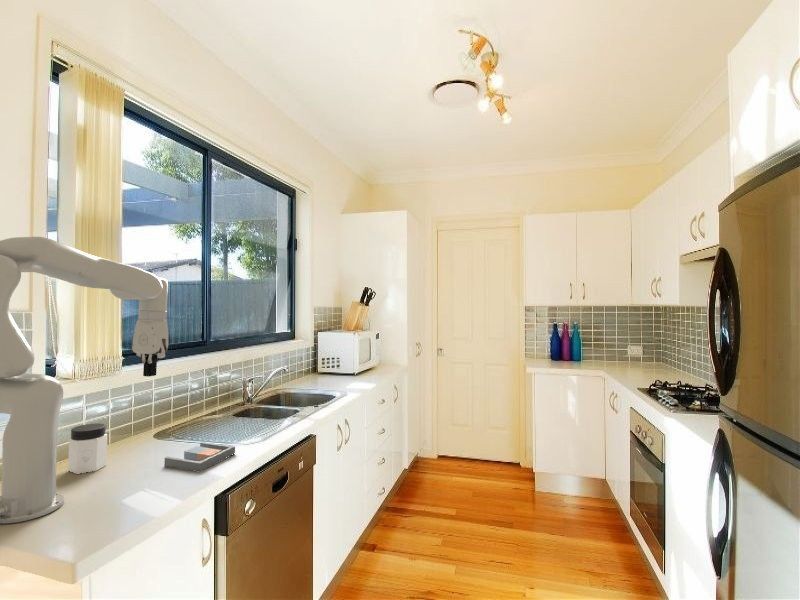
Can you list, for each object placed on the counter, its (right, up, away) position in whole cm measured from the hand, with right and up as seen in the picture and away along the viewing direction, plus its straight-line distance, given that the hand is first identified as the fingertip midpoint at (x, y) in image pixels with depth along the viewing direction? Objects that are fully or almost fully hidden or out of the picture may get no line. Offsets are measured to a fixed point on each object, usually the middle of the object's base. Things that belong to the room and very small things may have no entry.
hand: (149, 375), depth 128 cm
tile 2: (+19, -27, 0) cm, 33 cm away
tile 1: (+14, -27, +1) cm, 30 cm away
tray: (+16, -26, 0) cm, 30 cm away
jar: (-14, -26, -8) cm, 30 cm away
